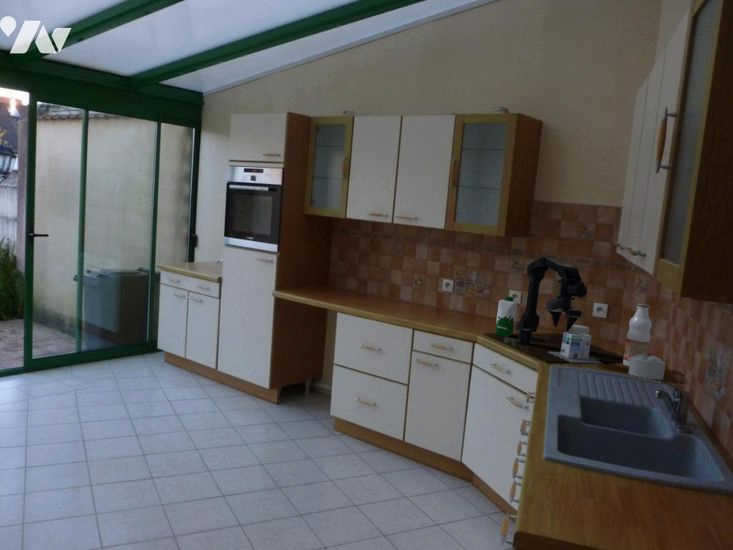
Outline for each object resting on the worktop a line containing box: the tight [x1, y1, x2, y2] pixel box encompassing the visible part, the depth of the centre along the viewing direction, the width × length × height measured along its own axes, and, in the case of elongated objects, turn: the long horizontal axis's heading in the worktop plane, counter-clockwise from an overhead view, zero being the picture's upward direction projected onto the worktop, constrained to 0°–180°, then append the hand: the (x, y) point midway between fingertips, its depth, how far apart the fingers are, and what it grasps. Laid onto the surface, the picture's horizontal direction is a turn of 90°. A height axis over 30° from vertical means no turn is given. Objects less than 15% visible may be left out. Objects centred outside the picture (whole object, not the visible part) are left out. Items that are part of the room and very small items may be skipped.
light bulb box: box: [560, 331, 592, 359], centre depth 276 cm, size 11×7×11 cm, turn 105°
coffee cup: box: [568, 324, 591, 335], centre depth 294 cm, size 9×9×12 cm
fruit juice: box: [622, 303, 653, 367], centre depth 272 cm, size 9×9×28 cm
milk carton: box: [495, 295, 518, 338], centre depth 316 cm, size 9×9×20 cm
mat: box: [547, 351, 603, 365], centre depth 276 cm, size 18×16×1 cm
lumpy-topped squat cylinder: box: [628, 354, 667, 381], centre depth 255 cm, size 10×13×9 cm
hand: (561, 329), depth 273 cm, fingers open, 9 cm apart
